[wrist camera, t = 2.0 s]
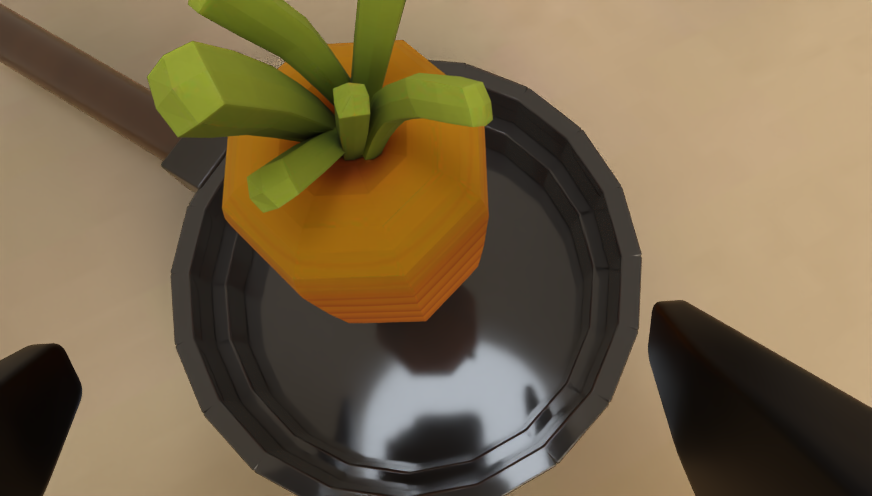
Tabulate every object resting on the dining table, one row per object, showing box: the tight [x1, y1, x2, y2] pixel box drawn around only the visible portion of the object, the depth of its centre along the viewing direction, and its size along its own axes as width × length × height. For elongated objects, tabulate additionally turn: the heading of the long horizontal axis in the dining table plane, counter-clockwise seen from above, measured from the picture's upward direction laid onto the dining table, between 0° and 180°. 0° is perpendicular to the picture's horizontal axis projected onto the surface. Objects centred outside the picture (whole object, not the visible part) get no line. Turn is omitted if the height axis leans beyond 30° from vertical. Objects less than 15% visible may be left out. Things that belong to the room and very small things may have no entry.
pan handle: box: [0, 4, 228, 193], centre depth 21 cm, size 12×2×2 cm, turn 58°
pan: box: [171, 60, 642, 496], centre depth 19 cm, size 14×14×4 cm
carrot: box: [147, 0, 493, 323], centre depth 13 cm, size 5×5×15 cm
